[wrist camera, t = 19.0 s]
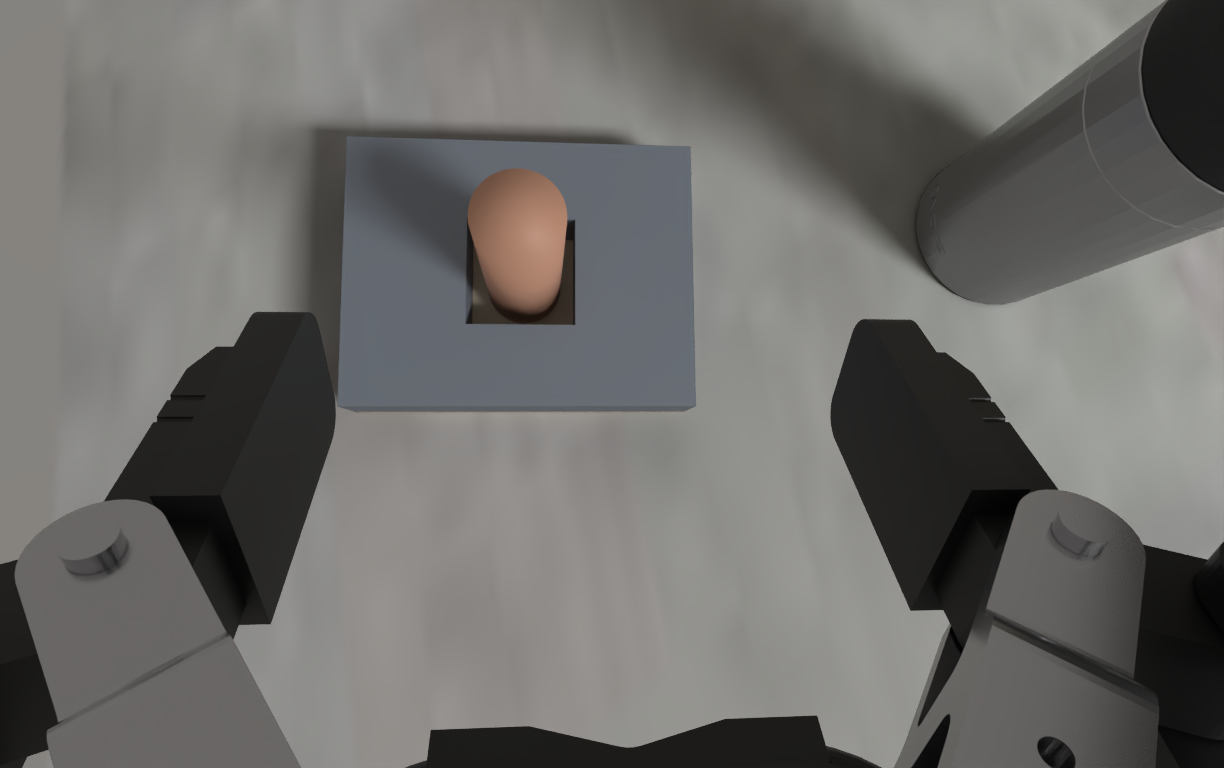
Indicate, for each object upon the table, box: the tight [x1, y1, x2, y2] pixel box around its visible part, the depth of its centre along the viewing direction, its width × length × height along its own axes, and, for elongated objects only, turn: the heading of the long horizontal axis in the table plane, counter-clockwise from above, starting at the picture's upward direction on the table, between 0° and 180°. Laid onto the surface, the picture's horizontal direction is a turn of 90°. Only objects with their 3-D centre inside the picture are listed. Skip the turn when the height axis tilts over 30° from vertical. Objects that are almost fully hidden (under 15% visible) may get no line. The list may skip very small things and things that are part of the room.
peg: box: [468, 168, 567, 323], centre depth 36 cm, size 4×4×12 cm
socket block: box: [337, 136, 696, 413], centre depth 41 cm, size 18×14×4 cm
